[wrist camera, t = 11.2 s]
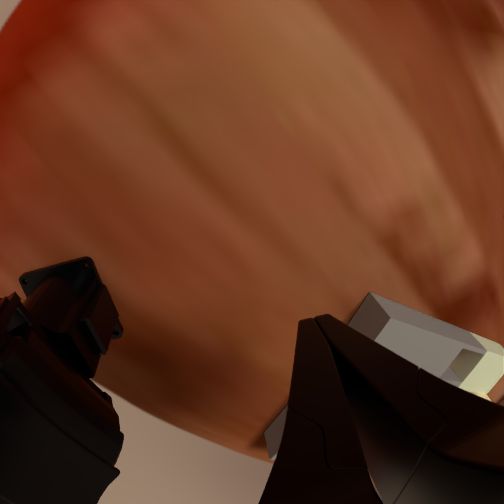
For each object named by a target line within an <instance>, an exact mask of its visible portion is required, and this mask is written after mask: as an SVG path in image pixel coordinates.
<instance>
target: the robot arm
mask: <svg viewBox="0 0 504 504" xmlns="http://www.w3.org/2000/svg"><path fill="white" fill-rule="evenodd" d="M84 263H87V264H88V265H89V267H86V266H85V265H84ZM24 279H26V280H27V282H26V281H25V280H24ZM19 282H20V284H21V287H22V289H23V291H24V293H25V295H26V297H27V298H26V300H25V301H24V302H23V304H22V303H21V301H20V300H21V299H20V297H19V296H18V295H17V293H16V292H14V293H12V294H11V295H10V296H8V297H7V296H6V297H4V298H0V504H97V503H98V501H99V499H100V497H101V495H102V494H103V492H104V491H105V489H106V488H107V486H108V485H109V484H110V483H111V482H112V481H113V480H114V479H115V478H117V476H118V475H119V474H120V471H119V469H117V468H115V467H114V465H115V464H116V462H117V459H118V457H119V454H120V452H121V449H122V444H123V440H124V434H123V433H122V432H121V431H120V425H119V416H118V414H117V413H116V411H115V409H114V408H113V404H112V398H111V397H110V396H109V395H108V394H107V393H106V392H103V391H102V390H101V389H99V388H98V387H97V386H96V385H95V384H94V383H93V382H92V381H91V380H90V379H89V378H93V377H94V376H95V373H96V369H97V366H98V363H99V360H100V357H101V355H105V354H106V352H107V350H108V346H109V343H110V340H111V339H117V338H120V337H121V336H122V334H123V328H122V326H121V324H120V322H119V319H118V316H119V314H118V312H117V310H116V308H115V305H114V303H113V301H112V299H111V296H110V294H109V292H108V290H107V287H106V286H105V285H104V284H103V283H102V281H101V279H100V277H99V274H98V272H97V269H96V267H95V264H94V262H93V260H92V259H91V258H90V257H81V258H77V259H74V260H70V261H66V262H62V263H59V264H55V265H51V266H48V267H44V268H41V269H37V270H33V271H30V272H26V273H23V274H22V275H21V276H20V278H19ZM114 330H117V331H118V332H115V331H114ZM287 409H288V410H287V413H286V419H285V425H284V430H283V435H282V439H281V443H280V446H279V449H278V453H277V456H276V459H275V462H274V464H273V467H272V470H271V473H270V476H269V478H268V481H267V483H266V486H265V489H264V491H263V494H262V496H261V499H260V501H259V503H258V504H383V503H384V504H504V406H502V405H499V404H497V403H494V402H492V401H489V400H487V399H485V398H482V397H480V396H477V395H475V394H473V393H470V392H468V391H465V390H463V389H461V388H459V387H457V386H454V385H452V384H450V383H448V382H446V381H444V380H442V379H440V378H438V377H436V376H435V375H433V374H431V373H429V372H427V371H426V370H424V369H422V368H419V367H418V366H417V365H415V364H413V363H412V362H410V361H408V360H406V359H405V358H403V357H401V356H400V355H398V354H396V353H394V352H393V351H391V350H389V349H387V348H386V347H384V346H382V345H381V344H379V343H377V342H375V341H374V340H372V339H370V338H369V337H367V336H365V335H364V334H362V333H360V332H358V331H357V330H355V329H353V328H352V327H350V326H348V325H347V324H345V323H343V322H341V321H340V320H338V319H336V318H335V317H333V316H331V315H330V314H324V315H320V316H316V317H314V319H313V318H307V319H303V320H300V321H299V323H298V331H297V339H296V348H295V356H294V364H293V371H292V379H291V386H290V393H289V400H288V407H287ZM368 471H369V472H368ZM369 473H370V475H371V477H372V479H373V481H374V484H375V486H376V488H377V490H378V492H379V494H380V496H381V499H382V500H381V499H380V497H379V496H378V494H377V492H376V491H375V489H374V486H373V484H372V481H371V478H370V475H369ZM382 501H383V502H382Z"/></svg>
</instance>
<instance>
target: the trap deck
mask: <svg viewBox="0 0 504 504" xmlns="http://www.w3.org/2000/svg"><path fill="white" fill-rule="evenodd" d="M348 326H350V327H352V328H353V329H355V330H357V331H358V332H360V333H362V334H364V335H365V336H367V337H369V338H370V339H372V340H374V341H375V342H377V343H379V344H381V345H382V346H384V347H386V348H387V349H389V350H391V351H393V352H394V353H396V354H398V355H400V356H401V357H403V358H405V359H406V360H408V361H410V362H412V363H413V364H415V365H417V366H418V367H419V368H422V369H424V370H426V371H427V372H429V373H431V374H433V375H435V376H436V377H438V378H440V379H442V380H444V381H446V382H448V383H450V384H452V385H454V386H457V387H459V388H461V389H463V390H465V391H468V392H476V393H486V394H487V393H488V392H489V391H490V390H491V389H492V387H493V386H494V385H495V384H496V383H497V381H498V380H499V379H500V378H501V376H502V375H503V374H504V348H503V347H502V346H501V345H500V344H498V343H496V342H493V341H491V340H488V339H486V338H483V337H481V336H479V335H476V334H474V333H471V332H469V331H466V330H464V329H461V328H459V327H456V326H454V325H451V324H449V323H446V322H444V321H441V320H439V319H436V318H434V317H431V316H429V315H426V314H424V313H421V312H419V311H416V310H414V309H411V308H409V307H406V306H404V305H401V304H399V303H396V302H394V301H391V300H389V299H386V298H384V297H381V296H379V295H376V294H373V293H371V292H369V294H368V295H367V297H366V299H365V300H364V302H363V303H362V305H361V306H360V308H359V309H358V311H357V312H356V314H355V315H354V317H353V318H352V319H351V321H350V322H349V324H348ZM287 407H288V405H287V406H286V407H285V408H284V410H283V411H282V412H281V413H280V414H279V416H278V417H277V418H276V419H275V420H274V421H273V423H272V424H271V425H270V426H269V427H268V428H267V430H266V431H265V432H264V435H265V440H266V444H267V449H268V454H269V458H270V460H275V459H276V456H277V453H278V449H279V446H280V443H281V439H282V435H283V430H284V425H285V419H286V413H287V410H288V409H287Z"/></svg>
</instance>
